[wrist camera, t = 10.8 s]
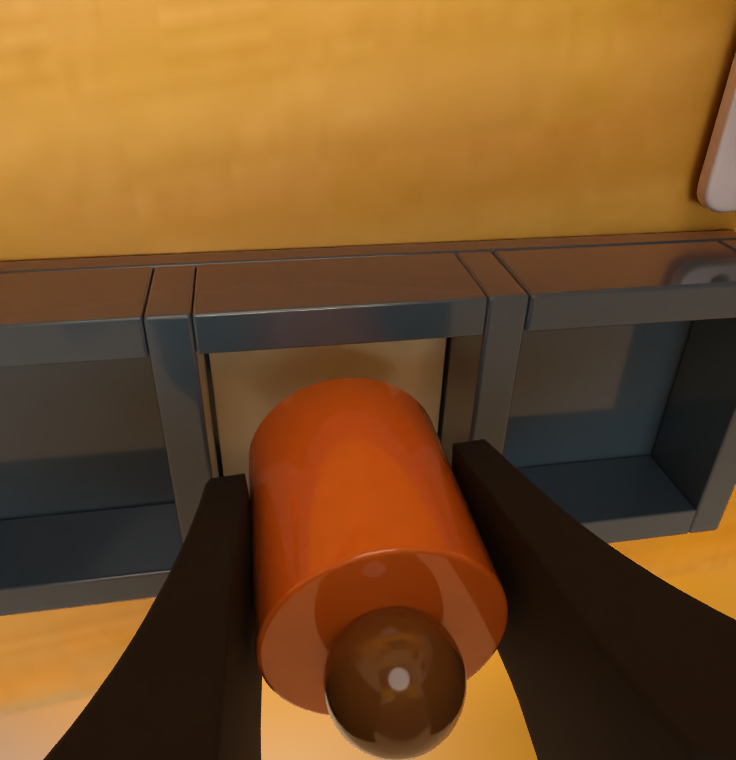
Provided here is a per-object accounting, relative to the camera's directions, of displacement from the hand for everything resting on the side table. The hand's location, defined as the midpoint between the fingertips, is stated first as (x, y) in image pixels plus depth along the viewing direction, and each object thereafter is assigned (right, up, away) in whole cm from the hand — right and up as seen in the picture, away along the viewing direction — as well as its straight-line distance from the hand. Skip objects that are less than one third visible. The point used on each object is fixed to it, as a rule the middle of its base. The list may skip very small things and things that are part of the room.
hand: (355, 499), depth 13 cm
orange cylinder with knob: (0, +1, +1) cm, 1 cm away
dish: (-1, +2, +3) cm, 4 cm away
